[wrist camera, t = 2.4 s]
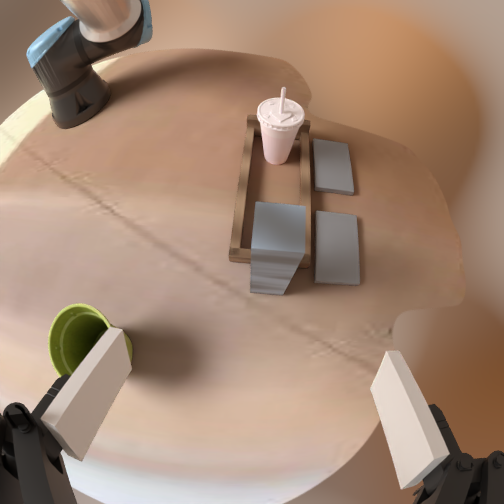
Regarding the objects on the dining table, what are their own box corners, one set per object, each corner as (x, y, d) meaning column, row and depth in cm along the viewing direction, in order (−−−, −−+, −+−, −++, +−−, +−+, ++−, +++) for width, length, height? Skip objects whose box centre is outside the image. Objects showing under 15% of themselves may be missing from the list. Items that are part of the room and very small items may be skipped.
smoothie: (253, 169, 42) (254, 97, 28) (257, 139, 44) (260, 70, 31) (295, 173, 41) (310, 104, 28) (296, 144, 44) (309, 76, 30)
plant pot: (160, 355, 32) (132, 353, 24) (114, 398, 29) (79, 407, 21) (116, 302, 34) (83, 285, 26) (75, 345, 32) (36, 339, 23)
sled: (247, 129, 44) (247, 57, 30) (306, 135, 44) (322, 64, 30) (226, 290, 35) (210, 244, 21) (306, 296, 34) (343, 256, 20)
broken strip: (312, 142, 44) (313, 138, 43) (346, 147, 44) (347, 143, 43) (314, 282, 35) (315, 280, 34) (357, 285, 35) (360, 283, 34)
